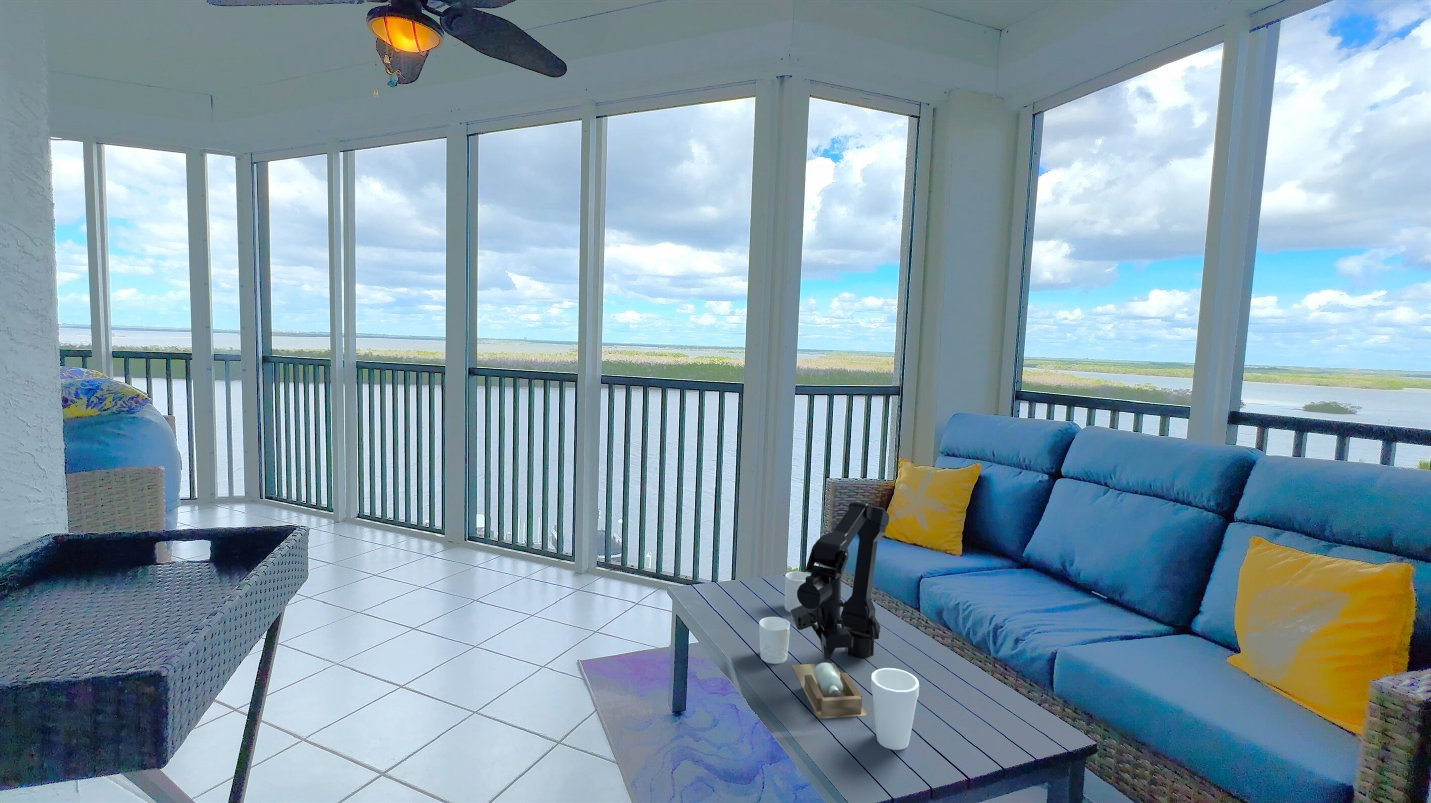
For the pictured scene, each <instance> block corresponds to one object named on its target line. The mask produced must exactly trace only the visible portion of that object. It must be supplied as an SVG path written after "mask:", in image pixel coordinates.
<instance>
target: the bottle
mask: <svg viewBox="0 0 1431 803" xmlns="http://www.w3.org/2000/svg"><path fill="white" fill-rule="evenodd" d="M829 663H830V662H821V663H818V664H819V665H817V666H816V668H815V670H814V677H815V679H816V681H817V683H818V685H819V687H820V690H821V692H822V694H823V695H824V696H825V697H826V698H828V697H842V694H841V693H842V691H843V684H842V682H841V681H840V679H839V677H838V675H837V673H836V671H835V670H834V668H833V666H832V665H831V664H829Z"/></svg>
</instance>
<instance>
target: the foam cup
mask: <svg viewBox="0 0 1431 803" xmlns="http://www.w3.org/2000/svg"><path fill="white" fill-rule="evenodd" d="M870 690H871V692H872V694H871V695H872V701H873V711H874V722H875V724H874V726H875V733H876V734H875V735H876V740H877V742H878V743H879V745H880V746H883V747H884V748H886V749H889V750H893V751H902V750H904V749H906V748H907V747H908V746H909V743H910V740H911V734H912V728H913V723H914V718H915V713H916V707H917V704H918V703H917V701H918V698H919V697H920V696H919V694H920V693H919V692H920V683H919V679H918V678H917V677H916V676H915V675H914V674H912V673H910V672H908V671H906V670H903V669H899V668H894V667H892V668H891V667H883V668H882V667H881V668H879V669H876V670H874V671H873V672H872V673H871V683H870Z"/></svg>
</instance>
